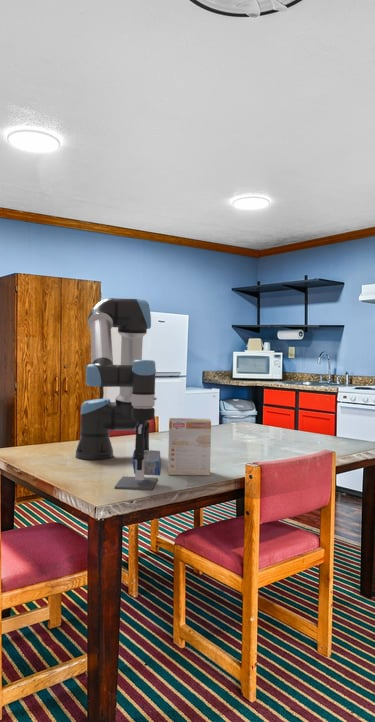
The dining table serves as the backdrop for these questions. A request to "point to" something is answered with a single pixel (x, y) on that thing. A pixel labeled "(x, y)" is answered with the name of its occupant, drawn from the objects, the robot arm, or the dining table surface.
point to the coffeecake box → (189, 446)
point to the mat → (136, 483)
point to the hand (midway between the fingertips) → (141, 476)
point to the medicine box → (150, 462)
